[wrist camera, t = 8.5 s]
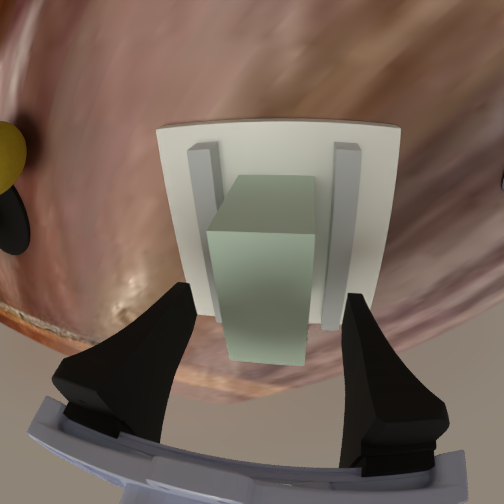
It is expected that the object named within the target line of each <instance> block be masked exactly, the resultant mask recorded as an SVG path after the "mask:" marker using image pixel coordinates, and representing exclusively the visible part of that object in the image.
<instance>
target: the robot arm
mask: <svg viewBox="0 0 504 504" xmlns="http://www.w3.org/2000/svg"><path fill="white" fill-rule="evenodd" d="M502 188H503V191H504V180H503V185H502ZM196 317H197V311H196V307H195V303H194V299H193V295H192V291H191V287H190V283H182V282H177V283H176V284H175V285H174V286H173V287H172V288H171V289H170V290H169V291H168V292H166V293H165V294H164V295H163V296H162V297H161V298H160V299H159V300H158V301H157V302H156V303H154V304H153V305H152V306H151V307H150V308H149V309H148V310H147V311H145V312H144V313H143V314H142V315H141V316H139V317H138V318H137V319H136V320H135V321H133V322H132V323H131V324H129V325H128V326H127V327H125V328H124V329H122V330H121V331H119V332H118V333H116V334H115V335H113V336H111V337H110V338H108V339H106V340H105V341H103V342H101V343H99V344H97V345H95V346H93V347H91V348H89V349H87V350H85V351H83V352H80V353H78V354H75V355H72V356H70V357H67V358H64V359H63V360H62V362H61V364H60V365H59V367H58V369H57V370H56V372H55V373H54V375H53V377H52V382H53V384H54V385H55V387H56V388H57V389H58V390H59V391H60V392H61V394H63V396H64V397H65V398H66V399H67V400H68V401H69V402H68V404H67V406H66V405H64V404H63V403H61V402H59V401H57V400H55V399H53V398H51V397H49V396H46V397H45V399H44V400H43V402H42V404H41V406H40V408H39V410H38V411H37V413H36V415H35V417H34V419H33V421H32V423H31V425H30V426H29V429H28V431H27V434H28V435H29V436H30V437H32V438H33V439H34V440H36V441H37V442H38V443H40V444H41V445H43V446H44V447H45V448H47V449H48V450H49V451H51V452H52V453H54V454H55V455H57V456H59V457H61V458H63V459H64V460H66V461H68V462H70V463H72V464H74V465H76V466H77V467H79V468H81V469H83V470H85V471H87V472H89V473H91V474H93V475H95V476H97V477H99V478H102V479H104V480H106V481H108V482H110V483H112V484H115V485H117V486H120V487H122V488H124V492H123V495H122V498H121V501H120V503H119V504H464V503H466V502H467V501H468V483H467V472H466V461H465V453H464V450H459V451H454V452H448V453H443V454H439V455H437V456H435V457H434V450H435V449H436V440H437V439H438V438H439V437H440V436H441V435H442V434H443V433H444V432H445V431H446V430H447V429H448V427H449V424H450V423H449V417H448V413H447V409H446V406H445V403H444V402H443V401H441V400H440V399H439V398H438V397H437V396H435V395H434V394H433V393H432V392H430V391H429V390H428V389H427V388H426V387H425V386H424V385H423V384H422V383H421V382H420V381H419V380H418V379H417V378H416V377H415V376H414V375H413V373H412V372H411V371H410V370H409V369H408V368H407V367H406V366H405V364H404V363H403V362H402V361H401V359H400V358H399V357H398V355H397V354H396V353H395V351H394V350H393V348H392V347H391V345H390V344H389V342H388V341H387V339H386V338H385V336H384V335H383V333H382V331H381V329H380V328H379V326H378V324H377V322H376V321H375V319H374V317H373V315H372V313H371V311H370V309H369V307H368V305H367V303H366V301H365V299H364V296H363V295H362V294H361V293H348V295H347V300H346V305H345V311H344V316H343V321H342V355H343V366H344V378H345V413H344V428H343V439H342V448H341V456H340V463H339V468H306V467H291V466H279V465H278V466H277V465H269V464H260V463H251V462H245V461H238V460H232V459H225V458H219V457H214V456H209V455H204V454H200V453H195V452H190V451H186V450H182V449H178V448H174V447H170V446H166V445H163V444H160V438H161V431H162V425H163V420H164V415H165V410H166V406H167V402H168V398H169V394H170V390H171V386H172V383H173V379H174V376H175V373H176V370H177V368H178V365H179V363H180V361H181V358H182V356H183V354H184V351H185V349H186V347H187V344H188V342H189V339H190V337H191V334H192V332H193V328H194V325H195V321H196ZM277 483H278V484H277ZM283 484H290V485H292V486H290V485H283Z"/></svg>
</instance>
